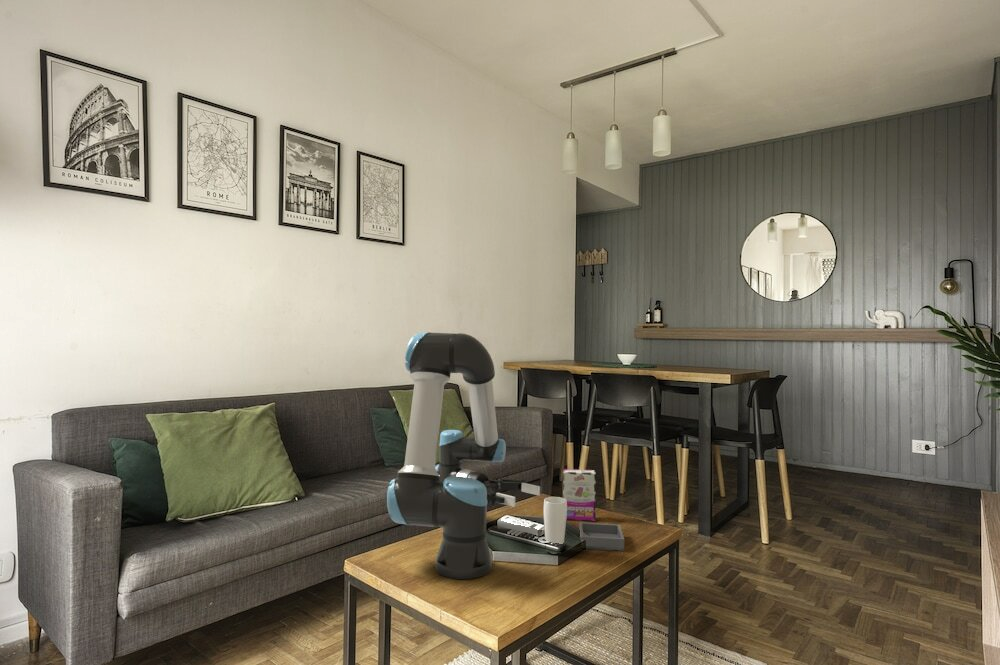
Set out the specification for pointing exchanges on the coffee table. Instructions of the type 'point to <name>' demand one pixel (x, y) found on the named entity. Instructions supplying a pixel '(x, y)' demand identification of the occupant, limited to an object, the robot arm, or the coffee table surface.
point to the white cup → (555, 519)
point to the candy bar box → (580, 494)
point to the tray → (602, 536)
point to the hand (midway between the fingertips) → (527, 496)
